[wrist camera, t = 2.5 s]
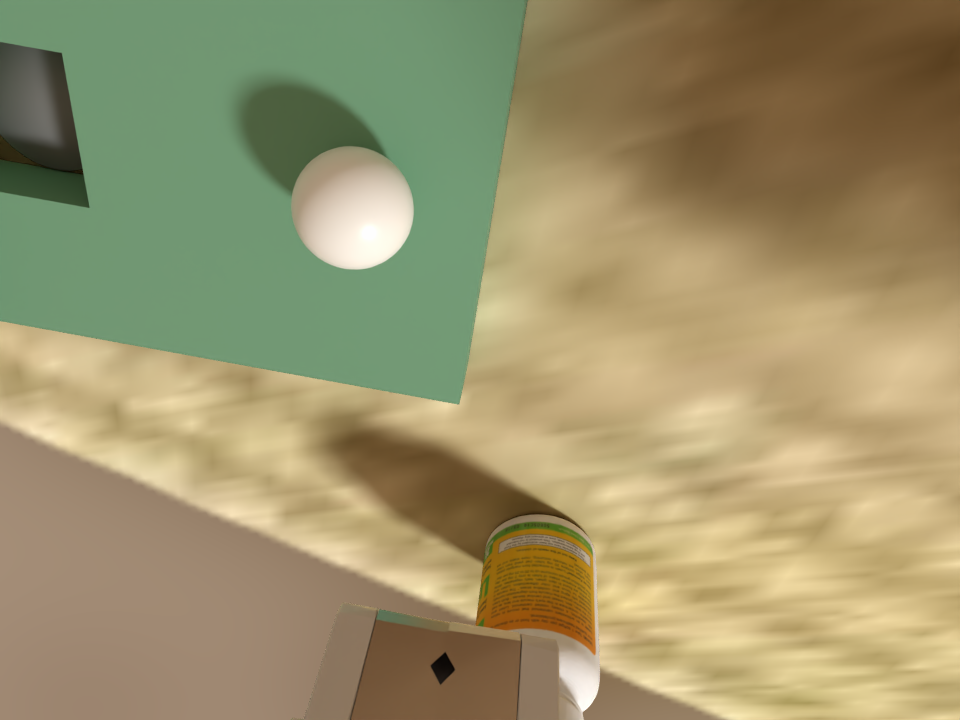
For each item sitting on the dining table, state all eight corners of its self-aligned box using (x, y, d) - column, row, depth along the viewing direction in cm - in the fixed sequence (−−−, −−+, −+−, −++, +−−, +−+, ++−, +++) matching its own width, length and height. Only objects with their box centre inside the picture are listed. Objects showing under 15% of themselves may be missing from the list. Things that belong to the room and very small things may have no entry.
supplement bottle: (474, 515, 34) (443, 710, 26) (586, 505, 33) (590, 705, 25) (499, 588, 37) (479, 785, 29) (603, 581, 36) (612, 784, 28)
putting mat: (541, -86, 20) (534, -79, 16) (467, 367, 29) (451, 438, 26) (-145, -207, 20) (-305, -227, 17) (-8, 281, 29) (-92, 338, 26)
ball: (428, 142, 22) (406, 183, 19) (417, 248, 24) (395, 300, 21) (312, 121, 22) (271, 159, 19) (311, 229, 24) (274, 278, 21)
